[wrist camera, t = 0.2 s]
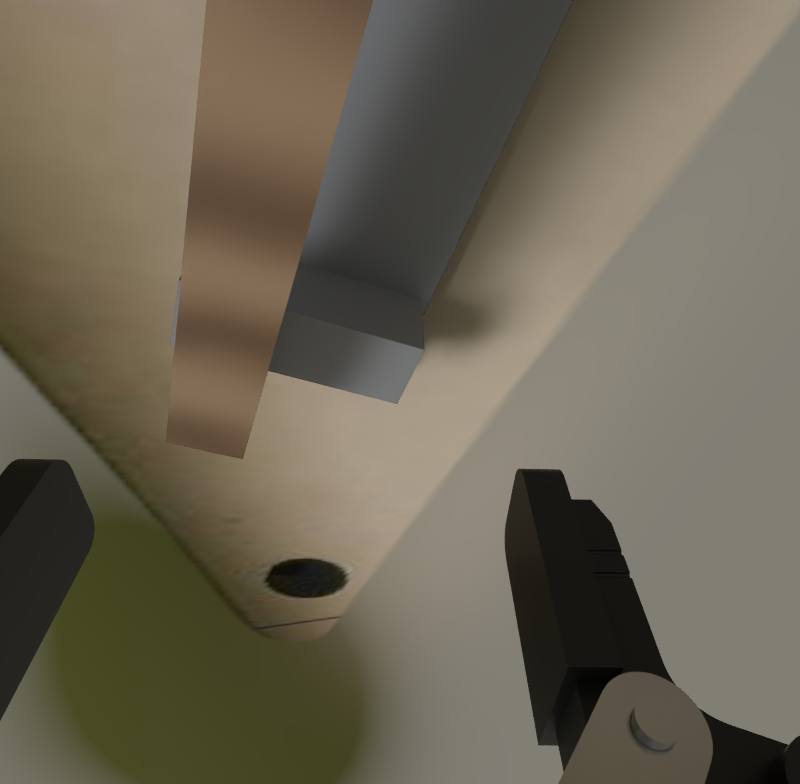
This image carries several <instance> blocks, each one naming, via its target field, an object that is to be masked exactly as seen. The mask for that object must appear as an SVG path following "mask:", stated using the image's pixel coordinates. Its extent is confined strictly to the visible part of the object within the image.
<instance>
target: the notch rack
mask: <svg viewBox="0 0 800 784" xmlns="http://www.w3.org/2000/svg"><path fill="white" fill-rule="evenodd" d="M572 2H573V0H373V4H372V7H371V11H370V14H369V18H368V21H367V25H366V28H365V32H364V35H363V39H362V42H361V46H360V49H359V53H358V56H357V60H356V63H355V67H354V70H353V74H352V77H351V81H350V84H349V88H348V91H347V95H346V98H345V102H344V105H343V109H342V112H341V116H340V119H339V123H338V126H337V130H336V133H335V137H334V141H333V144H332V148H331V151H330V155H329V158H328V162H327V165H326V169H325V172H324V176H323V179H322V183H321V186H320V190H319V193H318V197H317V200H316V204H315V207H314V211H313V214H312V218H311V221H310V225H309V228H308V232H307V235H306V239H305V242H304V246H303V249H302V253H301V256H300V260H299V263H298V267H297V270H296V274H295V277H294V281H293V284H292V288H291V291H290V295H289V299H288V302H287V306H286V309H285V313H284V316H283V320H282V323H281V327H280V330H279V334H278V337H277V341H276V344H275V348H274V351H273V355H272V358H271V362H270V365H269V369H268V371H271V372H275V373H279V374H283V375H286V376H290V377H294V378H298V379H302V380H306V381H310V382H314V383H318V384H321V385H325V386H329V387H333V388H337V389H341V390H345V391H349V392H352V393H356V394H360V395H364V396H368V397H372V398H376V399H380V400H384V401H387V402H391V403H395V404H398V402H399V400H400V398H401V396H402V394H403V392H404V390H405V388H406V386H407V384H408V382H409V380H410V378H411V376H412V374H413V372H414V370H415V368H416V366H417V364H418V362H419V360H420V358H421V356H422V354H423V352H424V337H423V321H422V317H423V315H424V313H425V311H426V308H427V306H428V304H429V302H430V300H431V298H432V296H433V294H434V292H435V290H436V287H437V285H438V283H439V281H440V279H441V277H442V275H443V273H444V271H445V269H446V266H447V264H448V262H449V260H450V258H451V256H452V254H453V252H454V250H455V248H456V245H457V243H458V241H459V239H460V237H461V235H462V233H463V231H464V229H465V227H466V224H467V222H468V220H469V218H470V216H471V214H472V212H473V210H474V208H475V205H476V203H477V201H478V199H479V197H480V195H481V193H482V191H483V189H484V187H485V184H486V182H487V180H488V178H489V176H490V174H491V172H492V170H493V168H494V166H495V163H496V161H497V159H498V157H499V155H500V153H501V151H502V149H503V147H504V145H505V142H506V140H507V138H508V136H509V134H510V132H511V130H512V128H513V126H514V124H515V121H516V119H517V117H518V115H519V113H520V111H521V109H522V107H523V105H524V103H525V100H526V98H527V96H528V94H529V92H530V90H531V88H532V86H533V84H534V82H535V79H536V77H537V75H538V73H539V71H540V69H541V67H542V65H543V63H544V61H545V58H546V56H547V54H548V52H549V50H550V48H551V46H552V44H553V42H554V40H555V37H556V35H557V33H558V31H559V29H560V27H561V25H562V23H563V21H564V19H565V16H566V14H567V12H568V10H569V8H570V6H571V4H572ZM180 284H181V276H180V278H179V282H178V290H177V297H176V305H175V313H174V321H173V329H172V337H171V345H170V346H174V347H175V338H176V327H177V317H178V306H179V295H180Z"/></svg>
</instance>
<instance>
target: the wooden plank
mask: <svg viewBox="0 0 800 784" xmlns="http://www.w3.org/2000/svg"><path fill="white" fill-rule="evenodd" d="M372 4H373V0H207V3H206V14H205V25H204V35H203V46H202V57H201V68H200V79H199V89H198V100H197V111H196V122H195V133H194V143H193V154H192V165H191V176H190V187H189V198H188V208H187V219H186V230H185V241H184V252H183V262H182V273H181V284H180V295H179V306H178V317H177V327H176V338H175V349H174V360H173V371H172V381H171V392H170V403H169V414H168V425H167V435H166V442H167V443H171V444H176V445H180V446H185V447H189V448H194V449H199V450H203V451H208V452H212V453H217V454H222V455H226V456H231V457H235V458H240V459H243V457H244V453H245V449H246V446H247V442H248V439H249V435H250V432H251V428H252V425H253V421H254V418H255V414H256V411H257V407H258V404H259V400H260V397H261V393H262V390H263V386H264V383H265V379H266V376H267V372H268V369H269V365H270V362H271V358H272V355H273V351H274V348H275V344H276V341H277V337H278V334H279V330H280V327H281V323H282V320H283V316H284V313H285V309H286V306H287V302H288V299H289V295H290V291H291V288H292V284H293V281H294V277H295V274H296V270H297V267H298V263H299V260H300V256H301V253H302V249H303V246H304V242H305V239H306V235H307V232H308V228H309V225H310V221H311V218H312V214H313V211H314V207H315V204H316V200H317V197H318V193H319V190H320V186H321V183H322V179H323V176H324V172H325V169H326V165H327V162H328V158H329V155H330V151H331V148H332V144H333V141H334V137H335V133H336V130H337V126H338V123H339V119H340V116H341V112H342V109H343V105H344V102H345V98H346V95H347V91H348V88H349V84H350V81H351V77H352V74H353V70H354V67H355V63H356V60H357V56H358V53H359V49H360V46H361V42H362V39H363V35H364V32H365V28H366V25H367V21H368V18H369V14H370V11H371V7H372Z"/></svg>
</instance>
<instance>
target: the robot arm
mask: <svg viewBox="0 0 800 784" xmlns="http://www.w3.org/2000/svg"><path fill="white" fill-rule="evenodd" d="M93 537H94V519H93V516H92V514H91V511H90V509H89V507H88V504H87V502H86V500H85V498H84V495H83V493H82V491H81V489H80V486H79V484H78V482H77V479H76V477H75V475H74V473H73V470H72V468H71V466H70V465H69V464H68V463H67V462H66V461H64V460H43V459H41V460H40V459H18V460H15V461H13V462H12V463H10V464H9V465H8V467H7V468H6V469H5V470H4V471H3V473H2V474H1V475H0V720H1V718H2V716H3V714H4V712H5V711H6V708H7V707H8V705H9V703H10V701H11V699H12V697H13V695H14V693H15V692H16V690H17V688H18V686H19V684H20V682H21V680H22V678H23V676H24V674H25V673H26V670H27V669H28V667H29V665H30V663H31V661H32V659H33V657H34V655H35V653H36V652H37V650H38V648H39V646H40V644H41V642H42V640H43V638H44V636H45V634H46V632H47V631H48V629H49V627H50V625H51V623H52V621H53V619H54V617H55V615H56V614H57V612H58V610H59V607H60V606H61V604H62V602H63V600H64V598H65V596H66V594H67V593H68V591H69V589H70V587H71V585H72V583H73V581H74V579H75V577H76V575H77V574H78V572H79V570H80V568H81V566H82V564H83V562H84V560H85V558H86V556H87V554H88V552H89V550H90V548H91V545H92V542H93ZM505 553H506V560H507V567H508V572H509V578H510V584H511V590H512V595H513V601H514V607H515V612H516V618H517V624H518V630H519V636H520V641H521V647H522V653H523V659H524V665H525V670H526V676H527V682H528V687H529V693H530V699H531V705H532V711H533V717H534V722H535V728H536V734H537V739H538V745H558V746H559V751H560V756H561V761H562V766H563V771H564V773H563V775H562V777H561V779H560V781H559V783H558V784H800V736H798V737H797V738H795V739H794V740H793V741H792V742H791V743H790V744H789V745H787V744H784V743H781V742H778V741H776V740H772V739H770V738H767V737H764V736H761V735H758V734H755V733H752V732H749V731H746V730H744V729H741V728H737V727H735V726H732V725H729V724H727V723H724V722H722V721H719V720H717V719H715V718H714V717H712V716H710V715H708V714H707V713H705V712H704V711H702V710H701V709H699V708H698V707H697V706H696V704H695V703H694V702H693V700H692V699H691V698H690V697H689V696H688V695H687V694H686V693H685V692H683V691H682V690H681V689H680V688H679V687H677V686H676V685H675V683H674V682H673V681H672V679H671V678H670V676H669V674H668V672H667V670H666V668H665V666H664V664H663V661H662V658H661V656H660V653H659V650H658V647H657V645H656V642H655V639H654V637H653V634H652V631H651V629H650V626H649V623H648V620H647V618H646V615H645V613H644V610H643V607H642V604H641V601H640V599H639V596H638V593H637V591H636V588H635V585H634V583H633V580H632V578H630V576H629V574H630V572H629V569H628V566H627V564H626V561H625V558H624V556H623V555H622V554H621V548H620V545H619V542H618V539H617V537H616V534H615V532H614V529H613V526H612V523H611V522H610V521H609V520H608V519H607V517H606V516H605V515H604V514H603V513H602V512H601V511H600V509H599V508H598V507H597V506H596V505H595V504H594V503H593V502H592V500H572V499H571V497H570V493H569V491H568V487H567V484H566V481H565V478H564V475H563V473H562V471H561V470H555V469H518V470H517V472H516V475H515V480H514V485H513V490H512V495H511V500H510V505H509V510H508V515H507V521H506V527H505Z"/></svg>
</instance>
